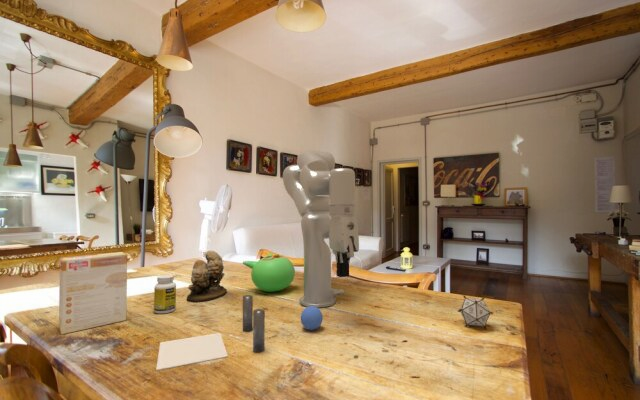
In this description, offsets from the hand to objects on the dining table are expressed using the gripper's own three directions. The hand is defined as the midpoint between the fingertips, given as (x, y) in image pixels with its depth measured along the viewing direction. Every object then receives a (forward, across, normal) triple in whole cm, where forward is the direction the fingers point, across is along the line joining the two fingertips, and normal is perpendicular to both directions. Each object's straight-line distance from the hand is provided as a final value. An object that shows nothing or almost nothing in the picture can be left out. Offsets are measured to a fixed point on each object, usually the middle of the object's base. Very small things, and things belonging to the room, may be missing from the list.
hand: (342, 276), depth 88 cm
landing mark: (+13, +1, +40) cm, 42 cm away
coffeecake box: (+13, +30, +64) cm, 72 cm away
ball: (+10, +1, +10) cm, 14 cm away
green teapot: (+13, +44, +8) cm, 46 cm away
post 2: (+14, -6, +26) cm, 29 cm away
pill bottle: (+13, +34, +46) cm, 59 cm away
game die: (+14, -16, -32) cm, 39 cm away
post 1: (+13, +7, +26) cm, 30 cm away
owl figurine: (+13, +47, +32) cm, 58 cm away
